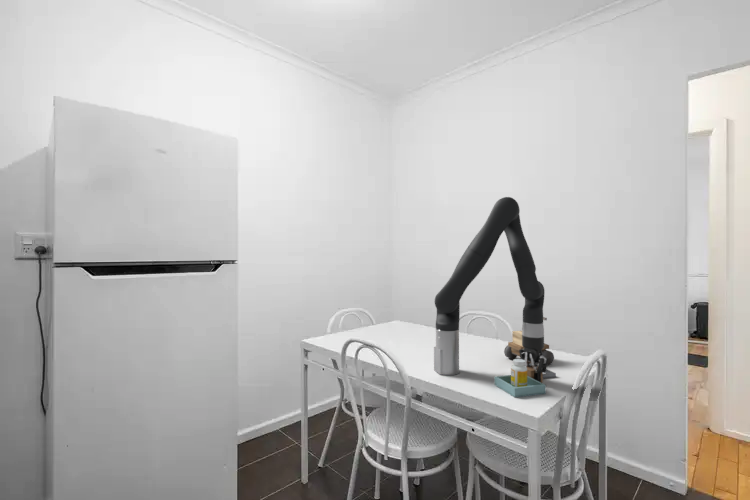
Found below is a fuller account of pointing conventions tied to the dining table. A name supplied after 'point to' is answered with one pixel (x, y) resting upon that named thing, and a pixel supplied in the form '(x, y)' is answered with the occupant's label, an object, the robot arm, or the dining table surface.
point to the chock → (531, 373)
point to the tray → (531, 388)
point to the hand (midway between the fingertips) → (533, 380)
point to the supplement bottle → (518, 373)
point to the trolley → (513, 347)
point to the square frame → (549, 374)
